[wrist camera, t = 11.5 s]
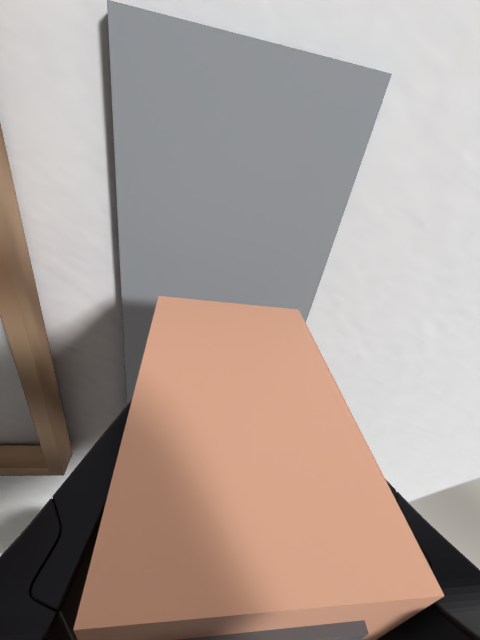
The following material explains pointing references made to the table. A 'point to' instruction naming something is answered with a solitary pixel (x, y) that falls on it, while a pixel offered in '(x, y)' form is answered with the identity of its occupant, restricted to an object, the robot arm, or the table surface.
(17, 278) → the organizer
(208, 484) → the peach block
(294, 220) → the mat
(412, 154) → the table surface
